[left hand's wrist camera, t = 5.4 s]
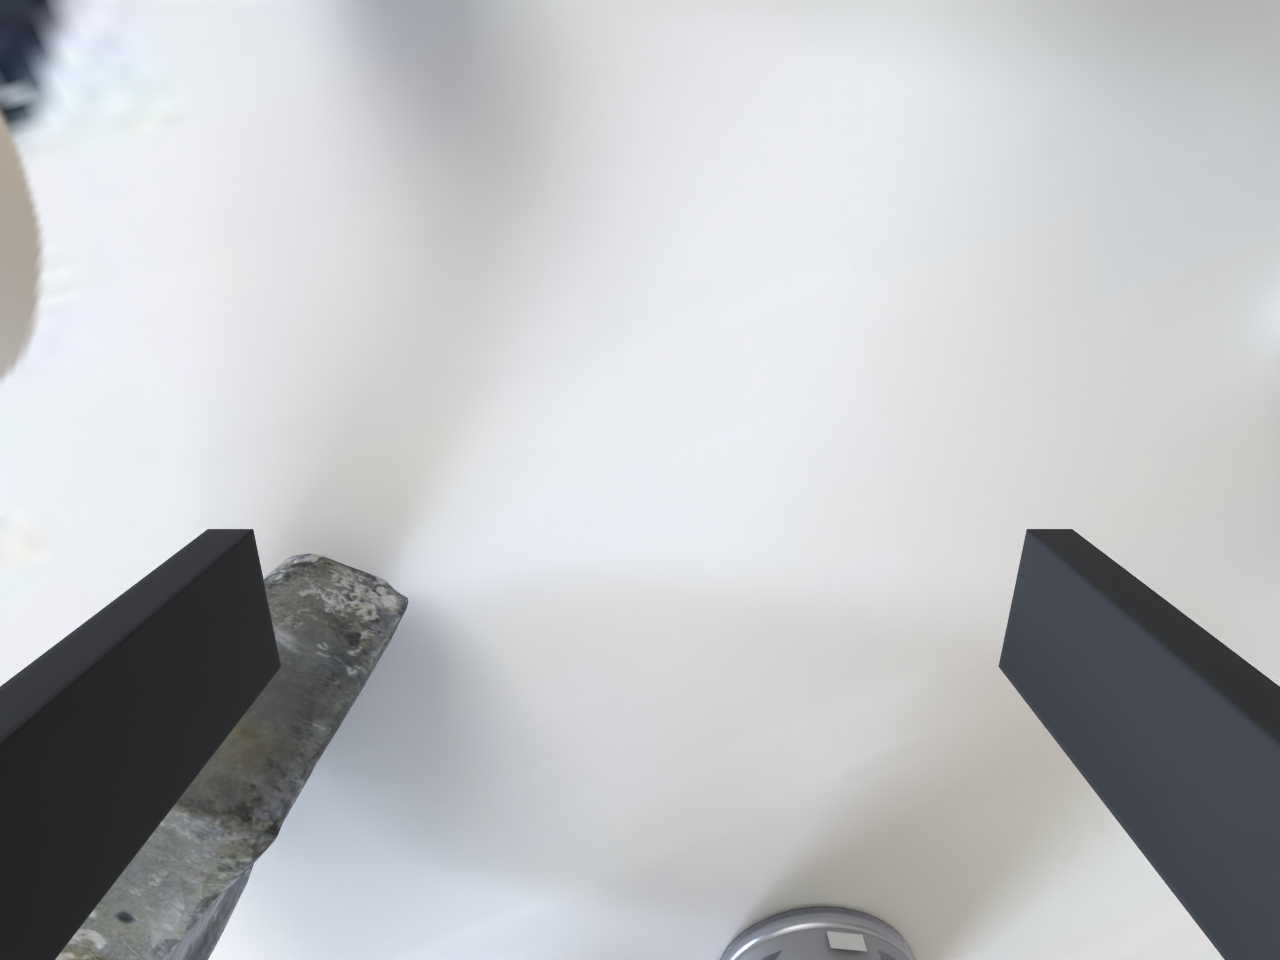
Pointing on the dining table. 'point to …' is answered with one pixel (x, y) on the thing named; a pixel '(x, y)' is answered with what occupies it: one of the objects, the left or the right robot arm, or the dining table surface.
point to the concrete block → (249, 770)
